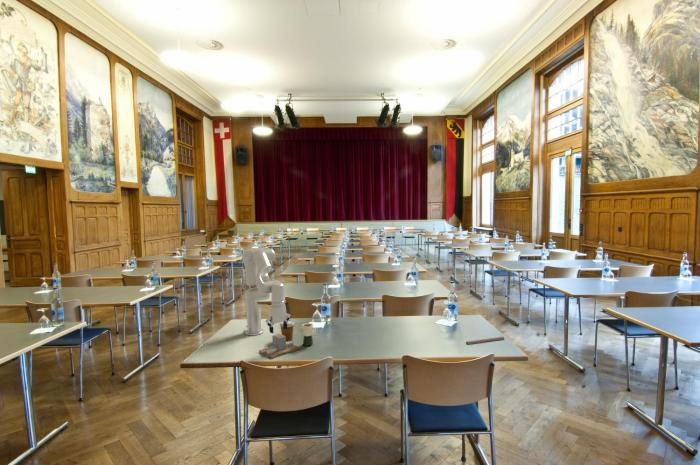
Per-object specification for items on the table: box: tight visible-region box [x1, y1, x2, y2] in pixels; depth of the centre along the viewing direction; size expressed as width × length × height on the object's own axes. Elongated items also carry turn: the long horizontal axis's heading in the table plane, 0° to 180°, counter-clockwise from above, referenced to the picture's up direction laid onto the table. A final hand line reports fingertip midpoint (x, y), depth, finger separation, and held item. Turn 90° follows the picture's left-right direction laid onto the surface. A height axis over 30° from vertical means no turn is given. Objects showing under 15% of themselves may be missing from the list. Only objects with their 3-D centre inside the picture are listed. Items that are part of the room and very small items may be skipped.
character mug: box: [298, 322, 317, 347], centre depth 231 cm, size 11×7×13 cm, turn 82°
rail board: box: [258, 340, 300, 360], centre depth 223 cm, size 14×20×3 cm
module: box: [271, 333, 287, 351], centre depth 223 cm, size 7×5×8 cm
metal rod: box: [465, 336, 505, 345], centre depth 232 cm, size 2×27×2 cm, turn 106°
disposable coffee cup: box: [279, 319, 295, 342], centre depth 241 cm, size 10×10×12 cm
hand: (278, 330), depth 223 cm, fingers open, 9 cm apart
